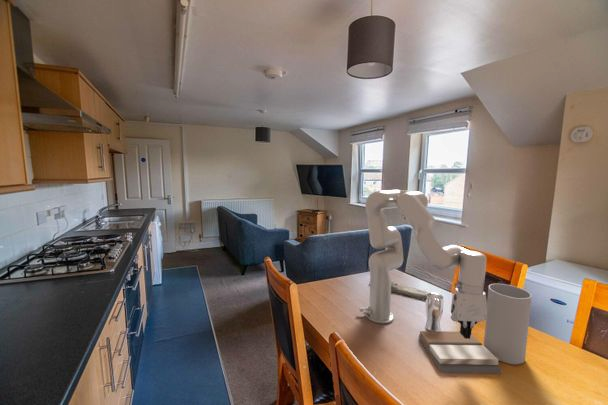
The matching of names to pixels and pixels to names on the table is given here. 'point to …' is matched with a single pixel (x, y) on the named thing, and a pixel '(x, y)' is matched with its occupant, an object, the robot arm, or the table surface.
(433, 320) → the beer glass
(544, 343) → the table surface
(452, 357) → the loose plank
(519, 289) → the cylinder vase
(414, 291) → the long grey stone
